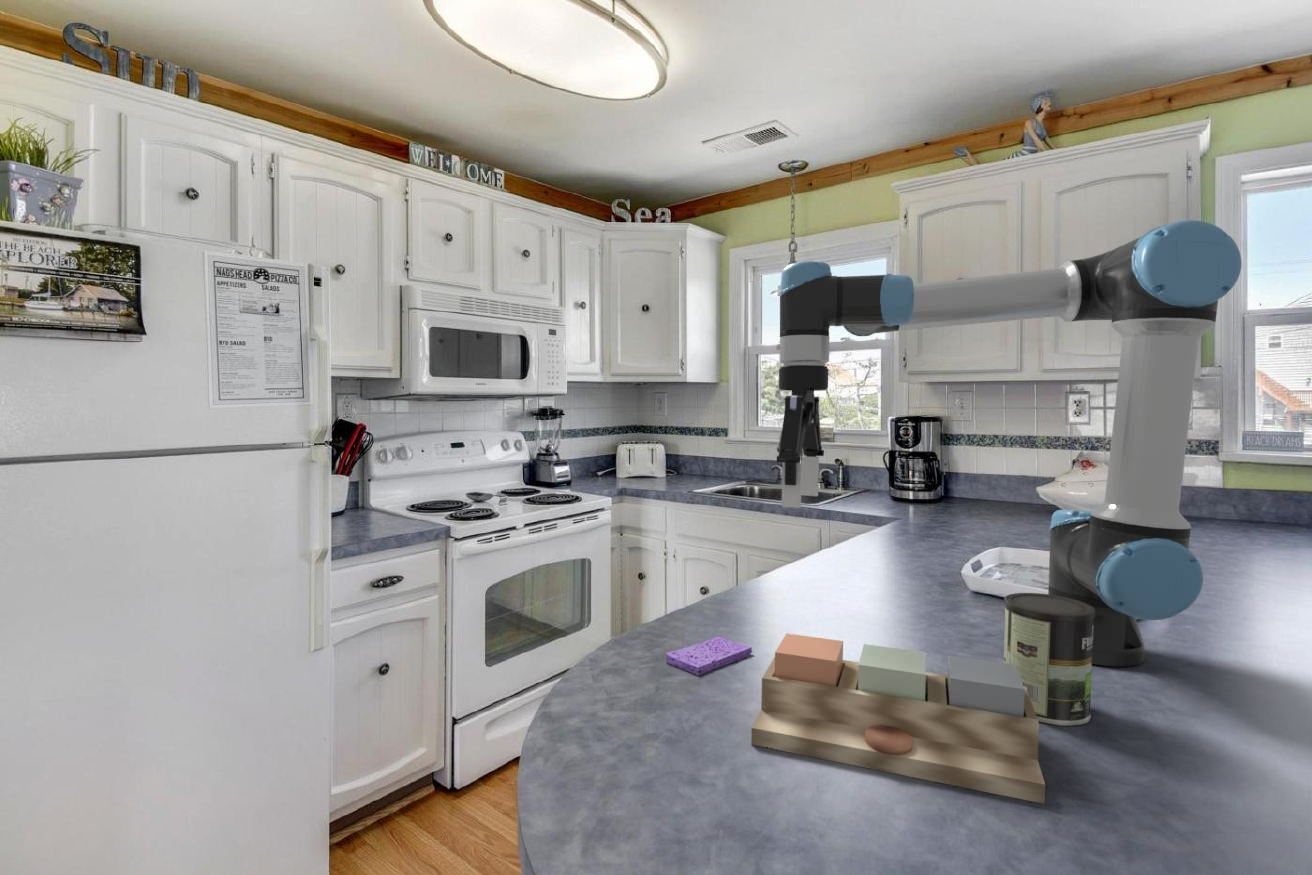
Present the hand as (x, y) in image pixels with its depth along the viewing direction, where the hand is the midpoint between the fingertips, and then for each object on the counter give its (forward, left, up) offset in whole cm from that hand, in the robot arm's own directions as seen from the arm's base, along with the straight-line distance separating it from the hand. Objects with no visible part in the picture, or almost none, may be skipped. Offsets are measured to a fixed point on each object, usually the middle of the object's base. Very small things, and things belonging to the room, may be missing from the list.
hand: (800, 501), depth 105 cm
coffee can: (-33, +6, -25) cm, 42 cm away
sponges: (+13, +7, -25) cm, 29 cm away
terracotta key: (-5, +20, -21) cm, 29 cm away
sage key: (-15, +20, -21) cm, 32 cm away
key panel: (-15, +23, -25) cm, 37 cm away
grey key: (-25, +20, -21) cm, 38 cm away
